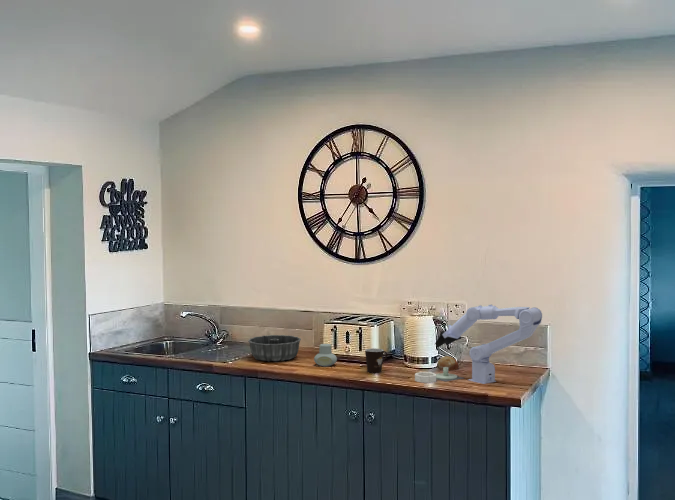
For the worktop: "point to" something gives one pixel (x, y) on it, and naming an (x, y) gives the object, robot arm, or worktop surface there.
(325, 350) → the air freshener
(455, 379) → the mat
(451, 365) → the bread roll
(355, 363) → the worktop surface
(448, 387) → the worktop surface
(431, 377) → the ramekin
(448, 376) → the lid
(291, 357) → the bundt pan
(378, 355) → the coffee mug
